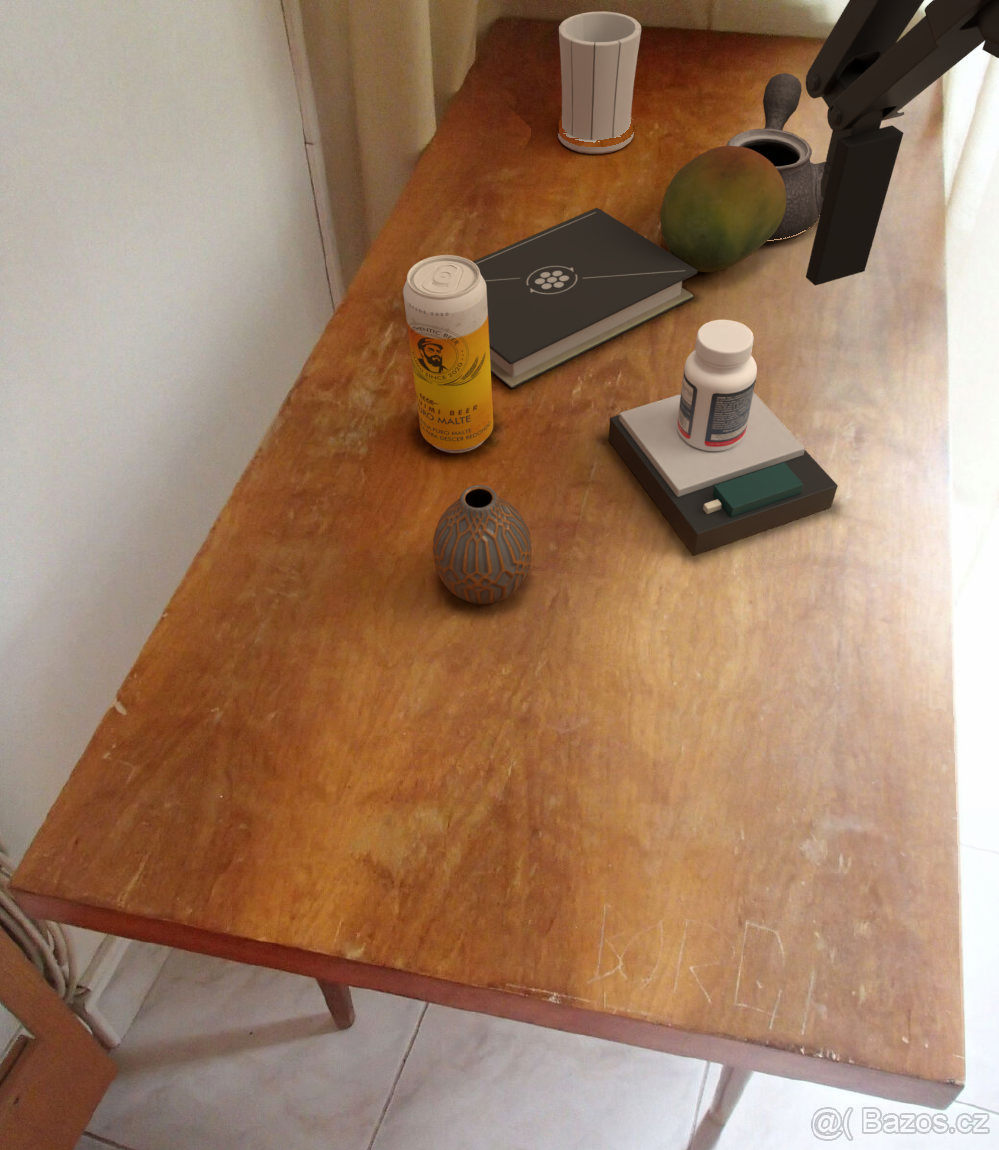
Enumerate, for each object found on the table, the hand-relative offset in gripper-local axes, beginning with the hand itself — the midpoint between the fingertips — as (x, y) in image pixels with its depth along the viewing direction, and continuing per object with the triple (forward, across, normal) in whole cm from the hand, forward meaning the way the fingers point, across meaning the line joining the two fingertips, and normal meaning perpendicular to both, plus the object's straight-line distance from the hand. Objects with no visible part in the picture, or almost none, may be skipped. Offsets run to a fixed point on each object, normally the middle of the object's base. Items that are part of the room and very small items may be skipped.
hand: (929, 358), depth 42 cm
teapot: (+29, -55, +33) cm, 71 cm away
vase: (+29, -19, -14) cm, 37 cm away
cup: (+29, -77, +23) cm, 85 cm away
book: (+29, -48, +5) cm, 56 cm away
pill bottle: (+26, -24, +7) cm, 36 cm away
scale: (+29, -22, +7) cm, 37 cm away
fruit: (+29, -48, +23) cm, 61 cm away
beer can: (+29, -35, -10) cm, 46 cm away
